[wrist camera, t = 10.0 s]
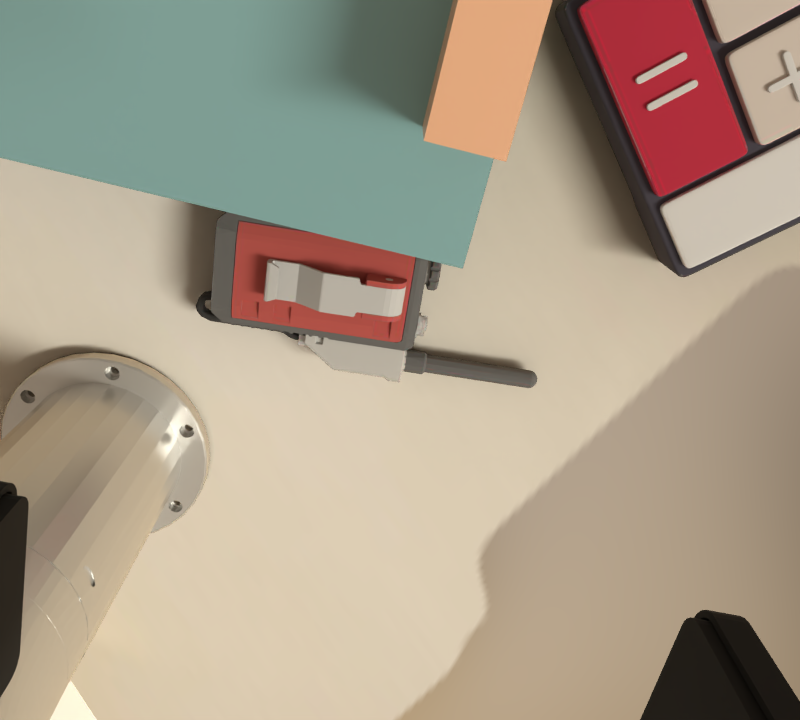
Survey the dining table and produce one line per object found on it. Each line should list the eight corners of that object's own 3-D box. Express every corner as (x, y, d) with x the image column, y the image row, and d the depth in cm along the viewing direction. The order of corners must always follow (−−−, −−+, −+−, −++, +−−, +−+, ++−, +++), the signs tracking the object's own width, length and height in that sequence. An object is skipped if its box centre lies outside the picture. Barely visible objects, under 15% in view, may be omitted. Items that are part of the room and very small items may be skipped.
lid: (461, 262, 34) (470, 304, 29) (5, 152, 33) (-77, 174, 27) (581, -167, 28) (622, -219, 23) (24, -328, 27) (-78, -424, 21)
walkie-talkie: (200, 337, 46) (529, 387, 46) (179, 366, 41) (540, 420, 42) (209, 190, 42) (563, 247, 43) (187, 206, 38) (579, 268, 39)
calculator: (798, -133, 33) (900, 181, 37) (758, -109, 37) (853, 172, 41) (562, 1, 35) (684, 284, 39) (549, 10, 39) (660, 266, 43)
